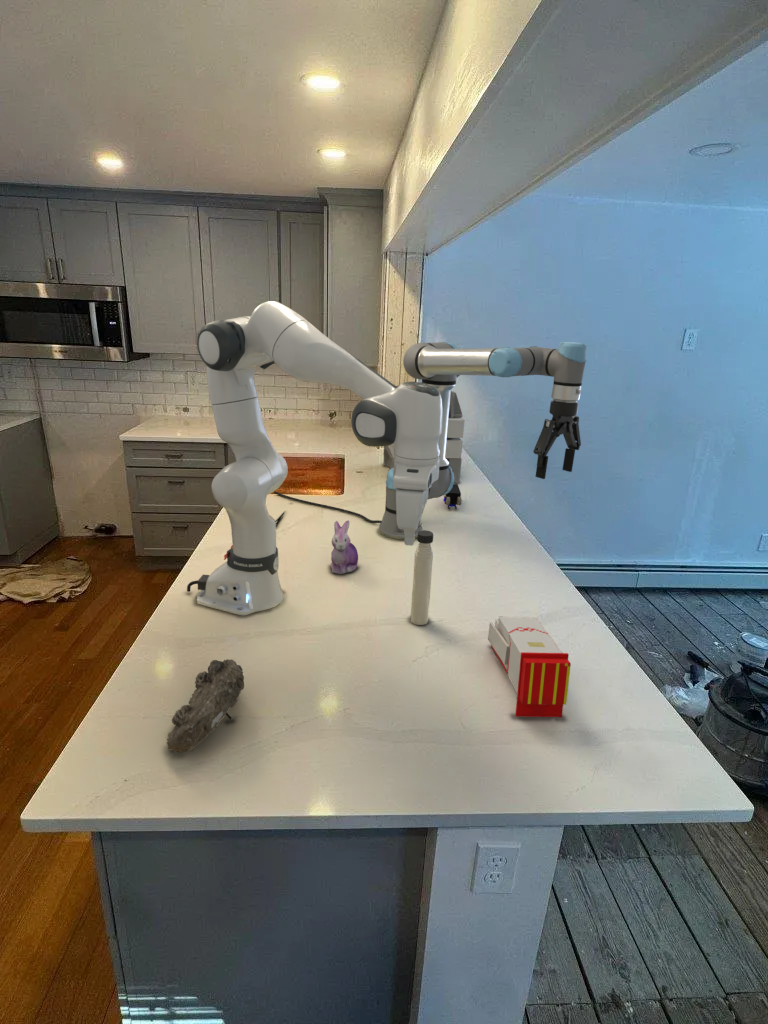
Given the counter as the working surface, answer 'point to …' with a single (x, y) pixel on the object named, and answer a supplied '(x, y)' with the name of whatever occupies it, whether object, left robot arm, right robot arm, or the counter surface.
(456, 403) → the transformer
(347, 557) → the figurine
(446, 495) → the figurine character
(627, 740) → the counter surface
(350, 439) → the counter surface
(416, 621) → the bottle
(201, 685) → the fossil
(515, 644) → the toy
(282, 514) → the feather
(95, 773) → the counter surface
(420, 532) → the cap
